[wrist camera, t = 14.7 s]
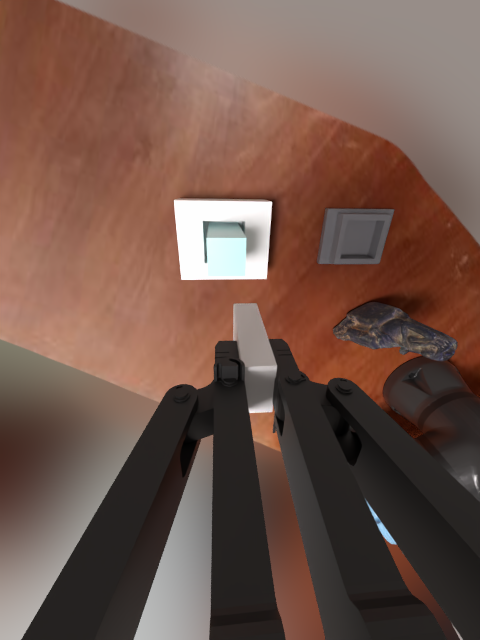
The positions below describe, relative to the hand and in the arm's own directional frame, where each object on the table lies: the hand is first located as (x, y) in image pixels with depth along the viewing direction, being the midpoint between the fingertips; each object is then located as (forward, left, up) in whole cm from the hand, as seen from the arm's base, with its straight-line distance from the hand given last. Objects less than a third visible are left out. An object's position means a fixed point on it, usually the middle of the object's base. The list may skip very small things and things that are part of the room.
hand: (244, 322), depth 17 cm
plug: (+1, -1, -24) cm, 24 cm away
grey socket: (-19, -1, -25) cm, 31 cm away
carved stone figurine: (-24, +13, -25) cm, 37 cm away
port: (+1, -1, -25) cm, 25 cm away
